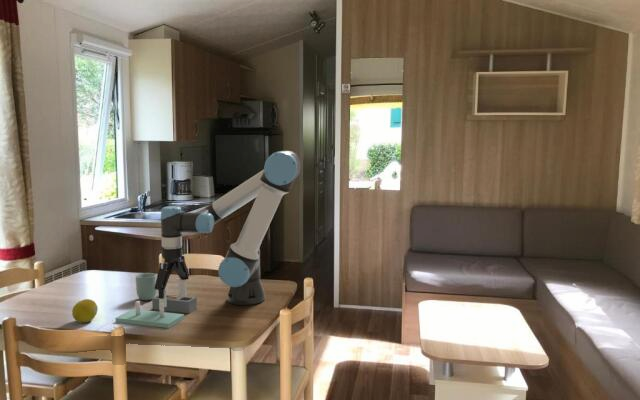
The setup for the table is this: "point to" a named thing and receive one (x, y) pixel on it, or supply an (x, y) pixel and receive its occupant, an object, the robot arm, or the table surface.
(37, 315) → the table surface
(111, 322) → the table surface
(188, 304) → the grey rectangular block
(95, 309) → the lemon
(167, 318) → the pegboard
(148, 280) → the cup
